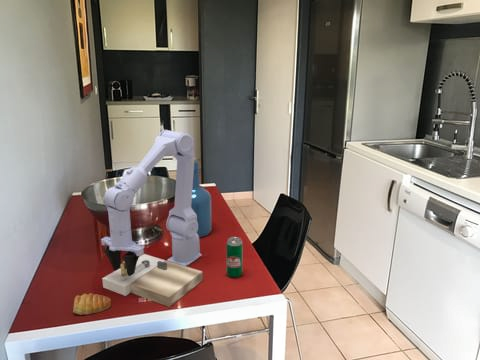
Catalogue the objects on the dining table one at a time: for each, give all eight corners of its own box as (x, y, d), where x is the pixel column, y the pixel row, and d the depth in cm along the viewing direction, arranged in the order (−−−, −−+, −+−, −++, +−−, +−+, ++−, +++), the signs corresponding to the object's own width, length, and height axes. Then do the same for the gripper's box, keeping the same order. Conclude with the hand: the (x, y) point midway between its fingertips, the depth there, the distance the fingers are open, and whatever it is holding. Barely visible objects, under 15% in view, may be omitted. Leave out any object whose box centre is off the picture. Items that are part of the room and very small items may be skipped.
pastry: (112, 299, 112) (111, 287, 111) (109, 313, 106) (108, 301, 104) (76, 303, 110) (75, 291, 109) (72, 318, 104) (70, 305, 103)
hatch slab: (166, 269, 128) (166, 260, 127) (202, 280, 122) (202, 271, 121) (131, 292, 115) (130, 283, 114) (169, 306, 108) (168, 297, 107)
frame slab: (144, 262, 132) (144, 254, 132) (166, 268, 128) (165, 260, 127) (103, 287, 117) (102, 278, 116) (125, 295, 113) (124, 286, 112)
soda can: (225, 277, 123) (225, 242, 120) (227, 269, 128) (227, 235, 125) (241, 279, 122) (241, 243, 119) (243, 271, 127) (243, 236, 124)
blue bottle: (208, 240, 150) (207, 163, 141) (174, 238, 151) (171, 161, 142) (214, 225, 163) (213, 154, 154) (183, 224, 164) (180, 153, 156)
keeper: (159, 266, 123) (159, 260, 123) (167, 269, 122) (166, 263, 121) (157, 268, 123) (157, 262, 122) (165, 270, 121) (164, 264, 121)
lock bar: (145, 263, 125) (144, 248, 124) (151, 264, 124) (150, 249, 123) (119, 278, 116) (117, 263, 114) (125, 281, 115) (123, 265, 113)
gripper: (91, 228, 112) (95, 271, 116) (129, 239, 105) (132, 284, 109) (110, 220, 118) (114, 261, 121) (147, 230, 111) (150, 273, 115)
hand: (124, 271), depth 115 cm, fingers open, 5 cm apart
